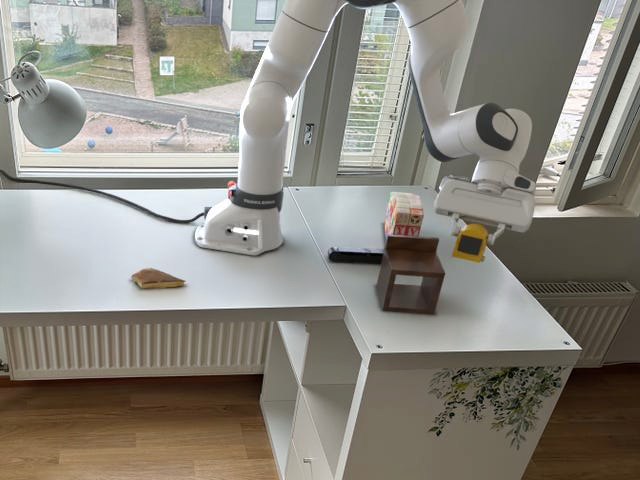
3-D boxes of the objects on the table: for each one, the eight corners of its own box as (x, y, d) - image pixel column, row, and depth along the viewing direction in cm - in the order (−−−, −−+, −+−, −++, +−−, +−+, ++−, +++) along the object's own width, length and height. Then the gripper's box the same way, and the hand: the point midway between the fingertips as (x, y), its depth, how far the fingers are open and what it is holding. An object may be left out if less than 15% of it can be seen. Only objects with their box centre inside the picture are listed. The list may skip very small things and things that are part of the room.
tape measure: (451, 256, 153) (460, 226, 149) (455, 250, 156) (463, 220, 152) (482, 264, 150) (492, 233, 146) (485, 257, 153) (495, 227, 149)
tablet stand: (327, 261, 169) (329, 250, 167) (326, 257, 171) (328, 246, 169) (401, 265, 168) (404, 254, 166) (399, 261, 170) (402, 249, 168)
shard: (185, 286, 157) (185, 279, 156) (164, 299, 152) (164, 292, 151) (149, 272, 163) (149, 265, 162) (127, 283, 158) (127, 277, 157)
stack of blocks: (383, 223, 188) (392, 180, 181) (407, 226, 187) (417, 182, 180) (387, 258, 171) (397, 211, 164) (413, 260, 170) (424, 214, 163)
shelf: (382, 310, 150) (394, 256, 143) (376, 286, 159) (387, 234, 152) (434, 314, 149) (449, 260, 142) (425, 289, 158) (438, 237, 151)
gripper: (444, 166, 153) (424, 222, 151) (544, 185, 145) (523, 245, 143) (444, 179, 158) (424, 234, 157) (539, 198, 150) (519, 256, 149)
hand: (472, 239), depth 150 cm, fingers closed on tape measure, 6 cm apart
